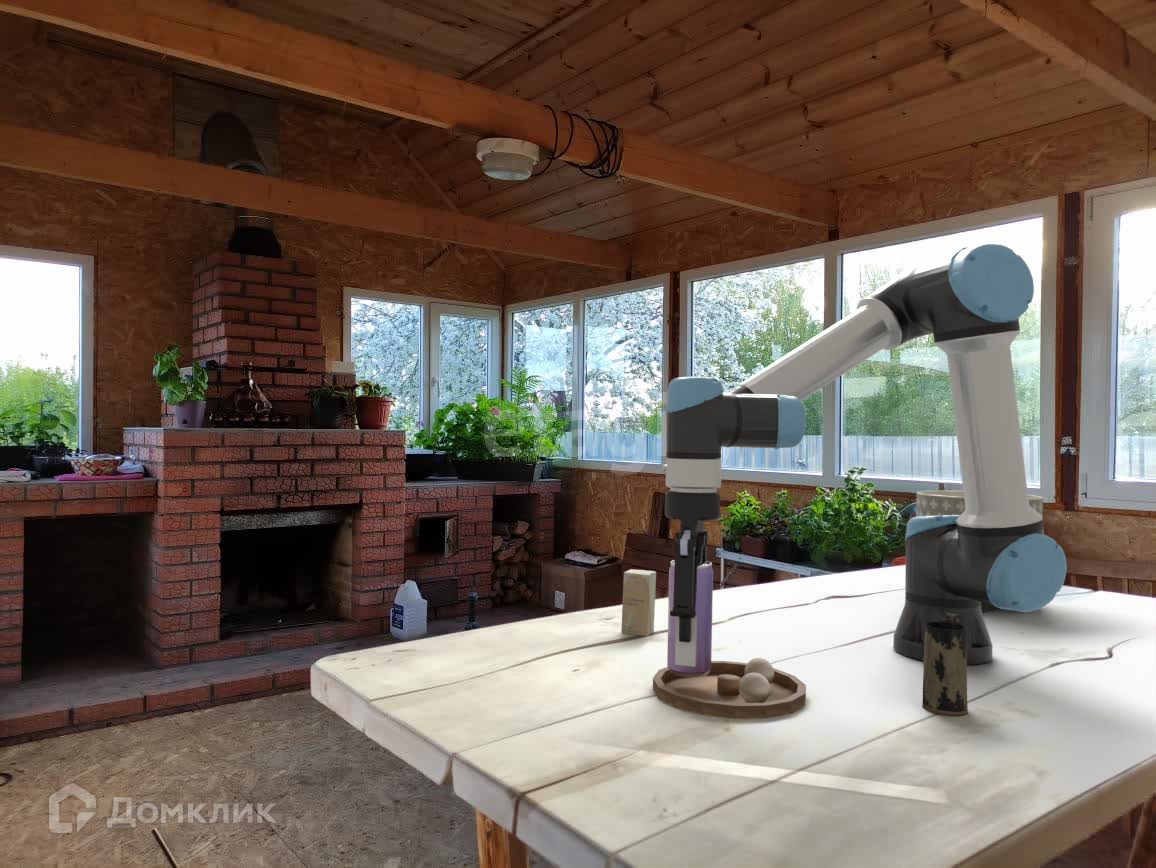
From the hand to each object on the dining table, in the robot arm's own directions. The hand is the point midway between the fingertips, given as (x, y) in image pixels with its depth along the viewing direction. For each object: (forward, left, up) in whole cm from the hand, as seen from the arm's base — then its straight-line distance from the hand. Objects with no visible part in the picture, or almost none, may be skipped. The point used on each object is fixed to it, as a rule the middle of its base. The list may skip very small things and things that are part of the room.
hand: (689, 658), depth 112 cm
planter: (-49, -87, -5) cm, 100 cm away
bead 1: (-9, -4, -4) cm, 11 cm away
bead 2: (-9, +4, -4) cm, 11 cm away
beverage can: (0, 0, -2) cm, 2 cm away
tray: (-5, 0, -5) cm, 7 cm away
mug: (-33, -7, -5) cm, 34 cm away
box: (+15, -33, -5) cm, 37 cm away
